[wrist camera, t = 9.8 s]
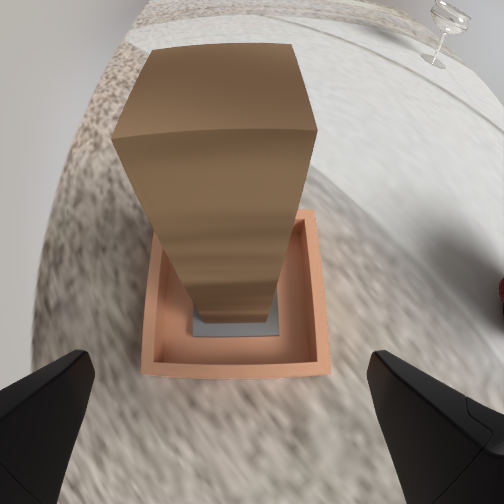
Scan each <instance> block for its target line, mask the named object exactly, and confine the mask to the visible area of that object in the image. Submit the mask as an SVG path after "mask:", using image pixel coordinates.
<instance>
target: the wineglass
mask: <svg viewBox="0 0 504 504" xmlns="http://www.w3.org/2000/svg"><path fill="white" fill-rule="evenodd" d="M435 2H436V4H435V5H433V7H432V9H431V15H432V18H433V20H434V22H435V23H436V24H437V25H438V27H439V28H440V29H441V32H442V34H441V37H440V40H439V43H438V46H437V49H436V52H435V55H434V56H431V55H428V54H424V53H422V54H421V56H422V57H423V58H424V59H425V60H426V61H427V62H429V63H431V64H432V65H434V66H436V67H439V68H443V69H444V68H446V67H445V65H444V64H443V63H442V62H441V61H440V60H438V59H437V58H436V56H437V54H438V52H439V50H440V47H441V45H442V43H443V41H444V39H445V36H446V35H449V34H455V35H457V34H461V33H464V32H465V31H466V30H467V29H468V20H470V19H471V17H469V16H468V15H467V14H465V13H464V12H462V11H460V10H459V9H457V8H455V7H454V6H452V5H450V4H447V3H445V2H443V1H441V0H435Z"/></svg>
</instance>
